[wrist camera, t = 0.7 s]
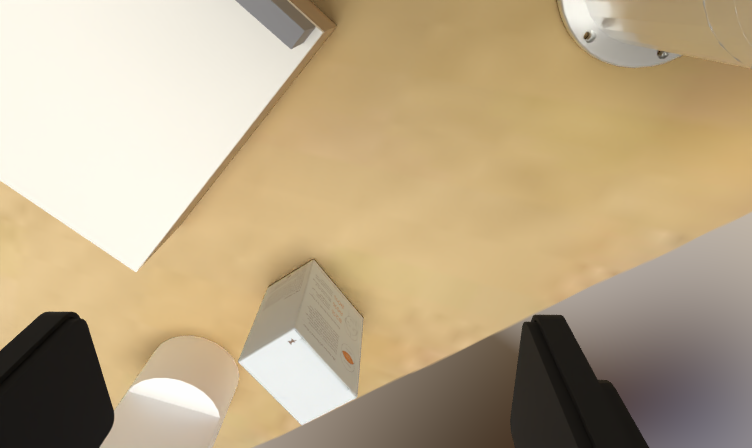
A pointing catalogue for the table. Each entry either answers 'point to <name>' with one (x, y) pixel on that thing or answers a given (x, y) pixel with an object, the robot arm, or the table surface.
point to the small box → (306, 344)
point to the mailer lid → (135, 104)
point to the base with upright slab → (176, 397)
